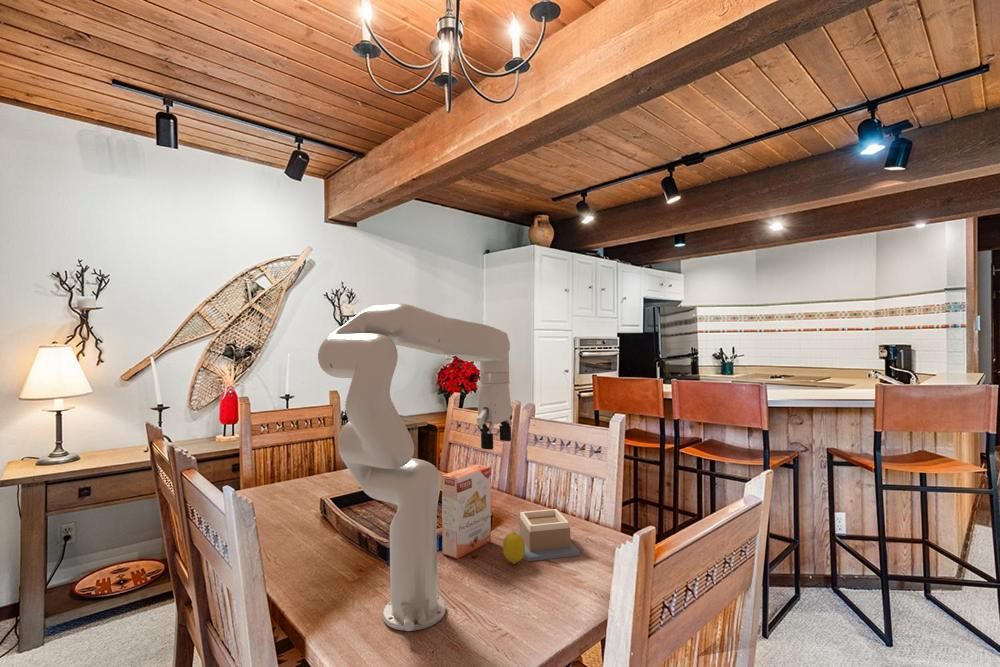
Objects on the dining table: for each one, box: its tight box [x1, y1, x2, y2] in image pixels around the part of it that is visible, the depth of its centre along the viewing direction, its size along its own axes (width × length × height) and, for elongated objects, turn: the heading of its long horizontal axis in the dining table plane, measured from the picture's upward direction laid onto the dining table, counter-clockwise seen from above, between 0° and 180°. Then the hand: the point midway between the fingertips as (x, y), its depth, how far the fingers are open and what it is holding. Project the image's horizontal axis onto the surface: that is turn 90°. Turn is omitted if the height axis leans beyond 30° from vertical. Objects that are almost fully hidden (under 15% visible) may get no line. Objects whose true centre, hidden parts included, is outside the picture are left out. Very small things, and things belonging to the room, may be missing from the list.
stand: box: [514, 508, 581, 562], centre depth 134 cm, size 17×14×8 cm
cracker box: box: [441, 464, 492, 560], centre depth 133 cm, size 14×6×21 cm, turn 143°
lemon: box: [502, 531, 525, 565], centre depth 123 cm, size 6×6×8 cm
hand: (496, 444), depth 128 cm, fingers open, 9 cm apart
